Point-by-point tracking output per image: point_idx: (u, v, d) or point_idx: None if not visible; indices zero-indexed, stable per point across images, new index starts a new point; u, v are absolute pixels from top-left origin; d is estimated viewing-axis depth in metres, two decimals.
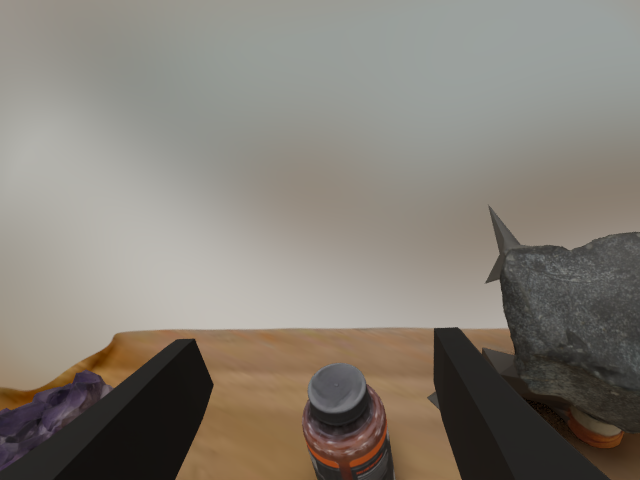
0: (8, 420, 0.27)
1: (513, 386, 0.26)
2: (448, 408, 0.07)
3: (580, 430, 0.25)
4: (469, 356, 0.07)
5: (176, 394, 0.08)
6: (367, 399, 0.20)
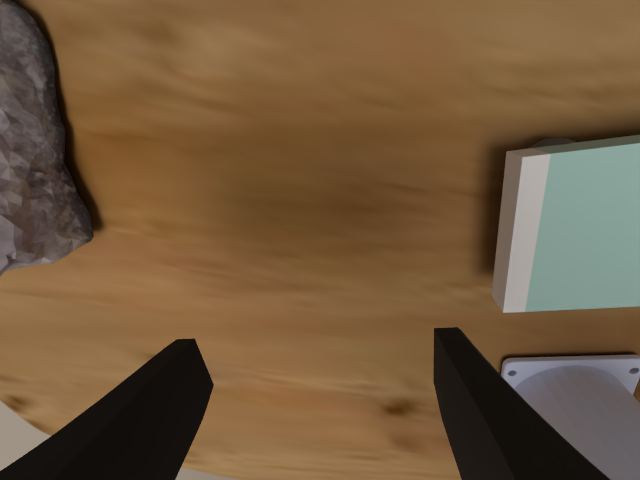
0: None
1: None
2: (448, 408, 0.07)
3: None
4: (469, 356, 0.07)
5: (177, 394, 0.08)
6: None
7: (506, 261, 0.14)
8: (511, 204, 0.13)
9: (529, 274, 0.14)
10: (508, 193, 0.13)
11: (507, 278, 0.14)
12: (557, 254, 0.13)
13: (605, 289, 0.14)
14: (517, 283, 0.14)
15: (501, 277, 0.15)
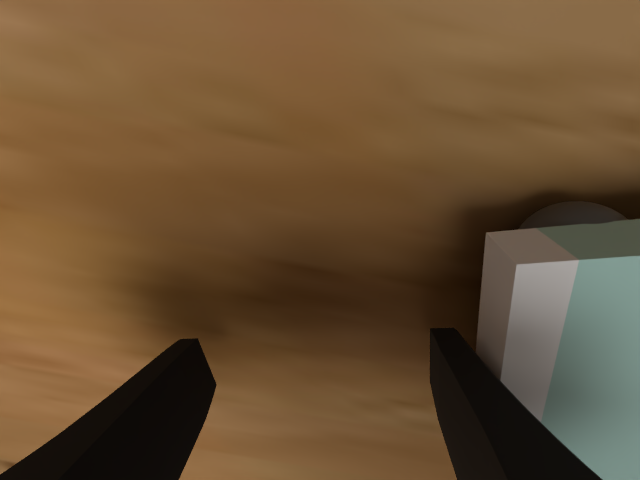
0: None
1: None
2: (444, 408, 0.07)
3: None
4: (464, 356, 0.07)
5: (180, 394, 0.08)
6: None
7: None
8: (496, 338, 0.07)
9: None
10: (490, 312, 0.07)
11: None
12: (585, 427, 0.07)
13: None
14: None
15: None
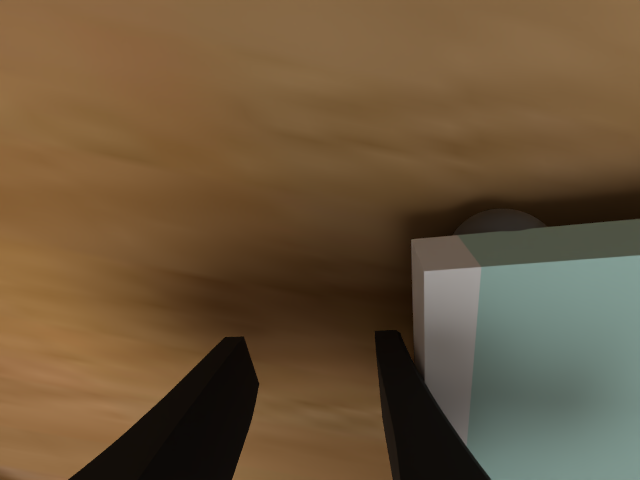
0: None
1: None
2: (382, 408, 0.08)
3: None
4: (397, 358, 0.07)
5: (231, 393, 0.08)
6: None
7: None
8: (421, 342, 0.07)
9: None
10: (417, 316, 0.07)
11: None
12: (511, 427, 0.07)
13: None
14: None
15: None
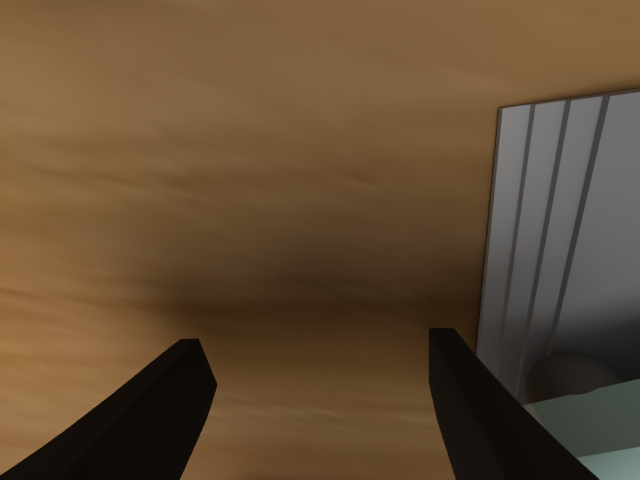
0: None
1: None
2: (442, 408, 0.07)
3: None
4: (463, 356, 0.07)
5: (181, 394, 0.08)
6: None
7: None
8: None
9: None
10: None
11: None
12: None
13: None
14: None
15: None
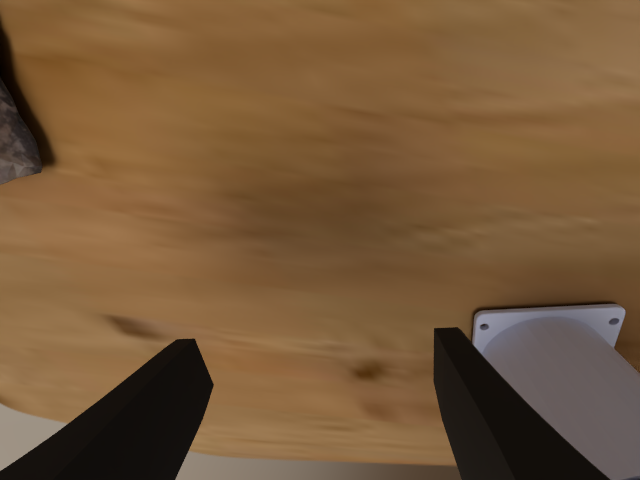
0: None
1: None
2: (448, 408, 0.07)
3: None
4: (469, 356, 0.07)
5: (176, 394, 0.08)
6: None
7: None
8: None
9: None
10: None
11: None
12: None
13: None
14: None
15: None
